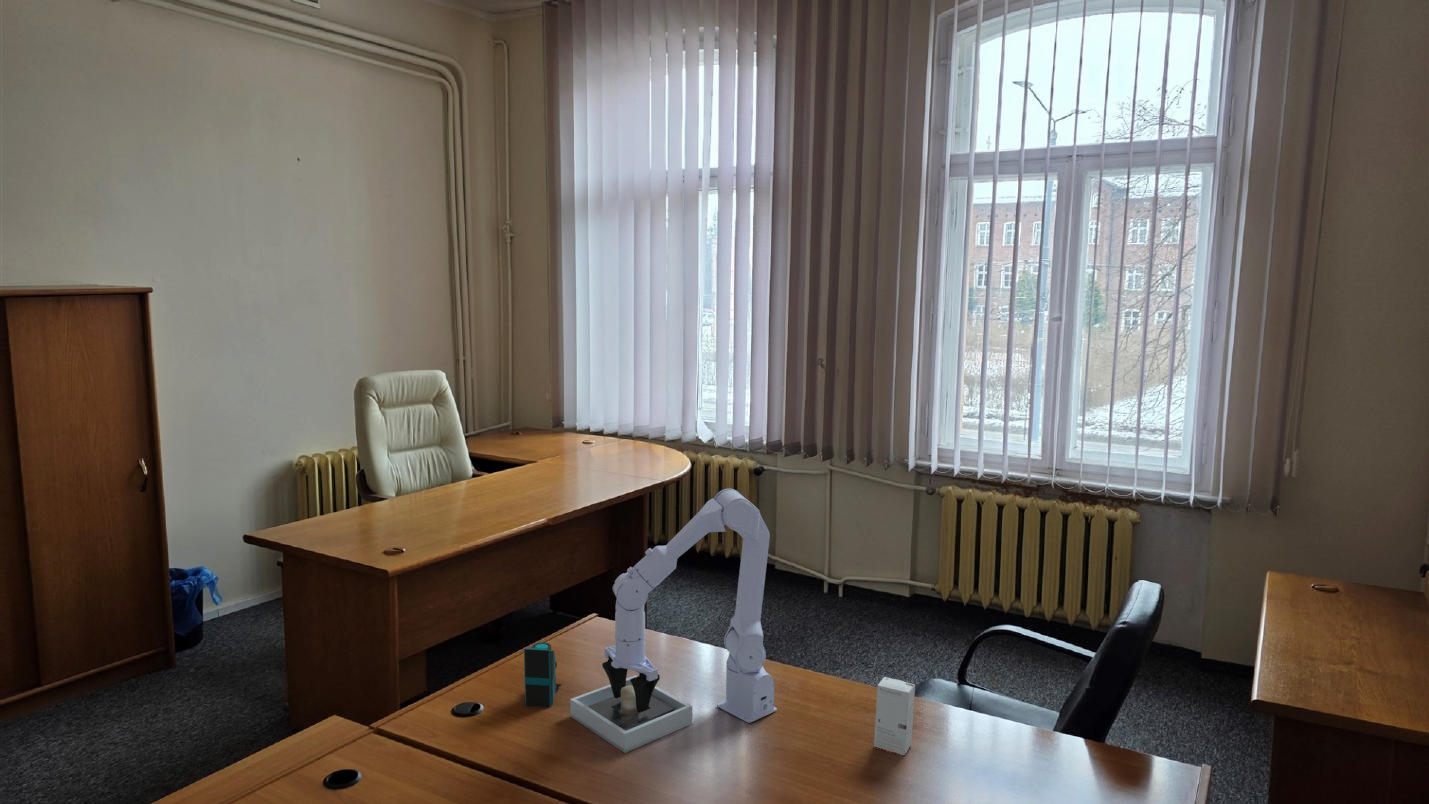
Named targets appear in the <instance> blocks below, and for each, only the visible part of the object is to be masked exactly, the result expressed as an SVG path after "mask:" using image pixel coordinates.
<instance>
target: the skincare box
mask: <svg viewBox="0 0 1429 804" xmlns="http://www.w3.org/2000/svg"><path fill="white" fill-rule="evenodd" d="M876 686H877V687H876V703H875V705H876V706H875V721H874V738H873V739H874V740H873V741H874V742H873V747H874V746H875V747H878V748H883V749H886V750H889V751H894V752H897V753H900V754H905V753H906V752H907V750H908V749H909V747H910V746H911V747H912V741H913V740H912V739H913V724H914V723H913V722H914V705H915V692H916V684H913V683H910V682H907V681H903V680H900V679H895V678H890V677H887V676H883V678H882V679H881V680H880V681H879V683H878V684H877V685H876ZM875 747H874V748H875ZM911 747H910V748H911ZM878 748H877V749H878ZM909 750H910V749H909ZM909 750H908V751H909ZM907 753H908V752H907ZM907 753H906V754H907ZM906 754H905V755H906Z"/></svg>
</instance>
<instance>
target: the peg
mask: <svg viewBox="0 0 1429 804" xmlns="http://www.w3.org/2000/svg"><path fill="white" fill-rule="evenodd" d="M637 713H639V712H638V711H637V708H636V697H635V692H634V688H633V686H632V685H629V686H625V687H623V688H622V689H621V714H623V715H625V716H626V717H630V716H632V715H635V714H637Z"/></svg>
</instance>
